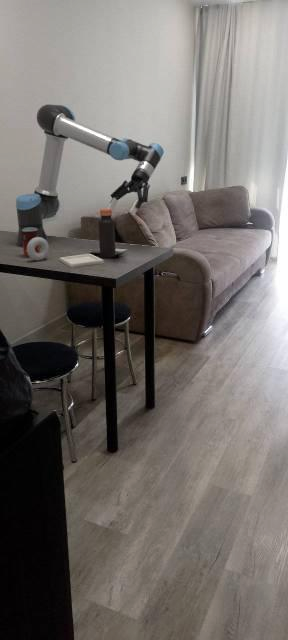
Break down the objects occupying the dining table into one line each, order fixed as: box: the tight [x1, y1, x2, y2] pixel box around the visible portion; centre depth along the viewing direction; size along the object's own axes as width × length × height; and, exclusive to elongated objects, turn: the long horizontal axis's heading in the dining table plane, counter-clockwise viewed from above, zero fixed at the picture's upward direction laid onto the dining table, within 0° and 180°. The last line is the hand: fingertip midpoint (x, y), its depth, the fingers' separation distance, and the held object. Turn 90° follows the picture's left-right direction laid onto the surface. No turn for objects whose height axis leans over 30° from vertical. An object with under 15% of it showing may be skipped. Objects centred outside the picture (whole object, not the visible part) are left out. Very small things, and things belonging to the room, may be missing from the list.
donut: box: [27, 237, 50, 261], centre depth 212 cm, size 10×3×10 cm, turn 128°
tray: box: [59, 253, 104, 269], centre depth 209 cm, size 14×14×2 cm
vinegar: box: [98, 208, 116, 259], centre depth 215 cm, size 7×7×20 cm
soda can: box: [22, 227, 41, 258], centre depth 220 cm, size 7×7×12 cm
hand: (120, 212), depth 219 cm, fingers open, 13 cm apart
